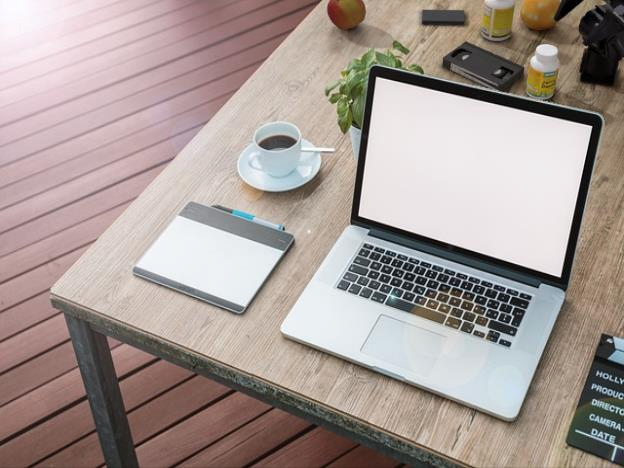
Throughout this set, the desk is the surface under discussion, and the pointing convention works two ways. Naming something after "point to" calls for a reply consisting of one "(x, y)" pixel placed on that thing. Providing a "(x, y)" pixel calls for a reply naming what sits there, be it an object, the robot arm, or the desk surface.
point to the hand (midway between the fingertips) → (569, 32)
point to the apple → (346, 13)
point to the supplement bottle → (543, 72)
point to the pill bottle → (497, 19)
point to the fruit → (539, 13)
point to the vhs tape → (483, 66)
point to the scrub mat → (443, 17)
